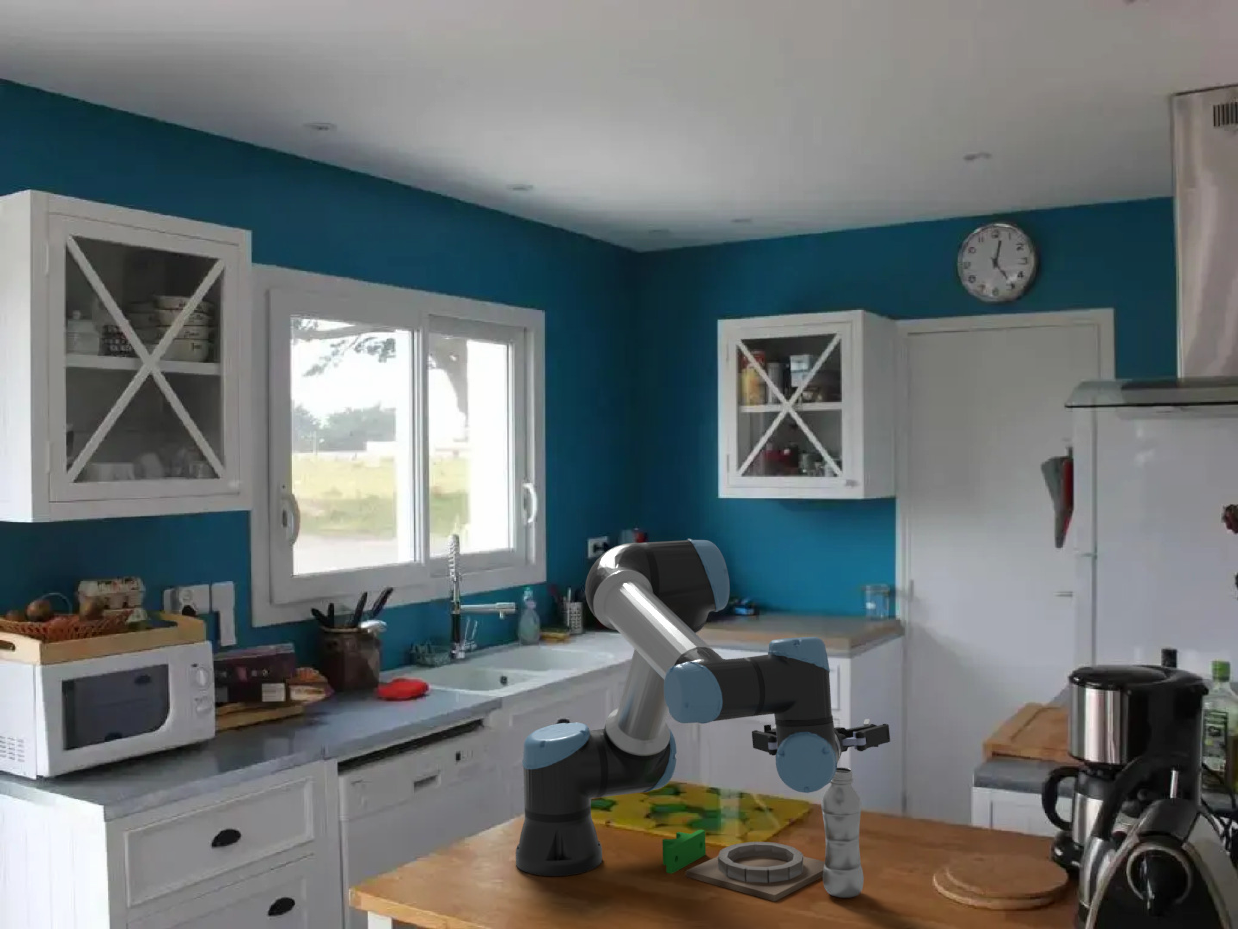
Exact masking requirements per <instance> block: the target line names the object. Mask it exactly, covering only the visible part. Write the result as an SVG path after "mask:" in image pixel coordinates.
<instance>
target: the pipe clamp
mask: <svg viewBox="0 0 1238 929" xmlns="http://www.w3.org/2000/svg"><path fill="white" fill-rule="evenodd" d="M661 843H662V865H663V866H666V868H665V870H666V873H667V874H671V875H672V874H674V873H676V872H678V871H680V870H681V869H683V868H686V867H687V866H689V865H690V864H691V863H694V862H696V861H697V860H699V859H700V858H703V857H704V856H706V855H707V854H706V851H707V849H706V830H704V829H698V830H696V831H694V832H692V833H687V832H682V831H677V832H675V838H663V839H662V842H661Z"/></svg>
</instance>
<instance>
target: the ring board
mask: <svg viewBox="0 0 1238 929" xmlns="http://www.w3.org/2000/svg"><path fill="white" fill-rule="evenodd" d="M824 865H825V860H824V861H823V860H820V859H815V858H812V857H808V856H804V853H802V852H801V851H800V850H798V849H797V848H796V847H793V846H791V845H786V844H781V843H779V842H768V841H748V842H742V843H740V842H739V843H734V844H731V845H729V846H726V847H724V848H722V849H721V850H719V853H718V855H717V856H715V857H714V858H711V859H709V860H706V861H704V862H702V863H700V864H697V865H695V866H692V867H691V868H689V869H686V870H685V877H687V878H689V879H693V880H697V881H700V882H704V883H707V884H711V885H715V886H718V887H721V888H726V889H729V890H733V891H737V892H740V893H743V894H747V895H752V896H754V897H758V898H761V899H764V900H768V901H771V902H777V901H778V900H780V899H783V898H784V897H786V896H788V895H790V894H792V893H794V892H797V890H800V889H801V888H803V887H806V886H807V885H810V884H811V883H813V882H815V881H817V880H819V879H821V878H823V870H824Z"/></svg>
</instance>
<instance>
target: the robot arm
mask: <svg viewBox="0 0 1238 929" xmlns="http://www.w3.org/2000/svg"><path fill="white" fill-rule="evenodd" d="M593 563H594V564H592V566H591V568H590V570H589V572H588V574H587V577H586V581H585V586H584V587H585V590H584V591H585V592H584V594H585V597H586V598H585V599H586V602H587V606H588V607H589V610H590V612H591V613H592V614H593V616H594V617H595V618H596V619H597V620H598V621H599V622H600V623H601V624H602V625H603V626H604V627H606V628H607V629H610V630H615V631H618V633H619V634H620V635H621V636H622V637H623V638H624V639H625V640H626V642H628V643H629V645H630V646H632V648H633V653H632V658H631V661H630V665H629V669H628V671H627V676H626V680H625V684H624V687H623V691H622V694H621V698H620V702H619V705H618V708H616V709H614V710H613V711H611V712H610V714H608V717H607V718H606V721H605V725H604V728H603V729H602V728H601V729H593V730H590V729H589V726H588V725H587V724H585V723H582V722H569V723H567V722H562V723H555V724H551V725H547V726H544V727H540V728H538V729H536V730H534V731H532V732H531V733H530V734H528V735H527V737H526V738H525V740H524V742H523V752H522V753H523V755H522V767H523V789H524V790H523V793H524V794H523V799H524V801H523V802H524V821H523V824H522V827H521V832H520V836H519V843H518V844H517V846H516V848H515V866H516V867H517V868H518V869H519V870H521V871H522V872H525V873H529V874H532V875H536V876H545V877H546V876H547V877H562V876H563V877H564V876H565V877H566V876H571V875H572V876H573V875H578V874H582V873H586V872H589V871H591V870H594V869H595V868H597V867H599V865H601V863H602V861H603V847H602V843H601V842H600V841H599V839H598V838H599V837H598V835H597V834H598V833H597V831H596V826H595V824H594V820H593V818H592V809H591V808H592V803H591V802H592V799H596V798H605V797H611V796H622V795H623V796H624V795H629V794H638V793H648V792H651V791H654V790H657V789H661V788H663V787H665V786H666V785H668V783H670V781H671V779H672V778H673V776H674V773H675V770H676V767H677V757H676V755H677V753H678V751H677V742H676V740H675V739H676V738H675V736H674V734H673V731H672V730H671V728H670V727H669V725H668V722H667V720H668V716H669V715H670V716H671V717H672V718H673V720H674V721H676V722H677V723H681V724H696V723H697V724H702V725H703V724H704V725H705V724H709V723H712V722H718V721H727V720H734V719H735V720H736V719H741V718H742V719H743V718H747V717H748V718H749V717H759V716H766V715H767V716H768V715H774V724H775V725H773V727H772V724H764V725H763V731H761V730H758V729H755V730H752V731H751V738H752V748H753V749H755V750H759V751H762V752H765V753H768V755H769V756H770V755H771V756H775V768H776V771H777V774H778V776H779V778H780V779H781V781H782V783H784V784H785V785H786V786H787V788H790V789H791V790H793V791H796V792H799V793H805V794H810V793H814V792H817V791H819V790H821V789H823V788H824V787H826V786H827V785H828V784H831V783H830V782H831V780H832V778H833V777H834V775H835V772H836V769H837V767H838V763H839V761H840V759H841V756H842V753H843V752H847V751H848V749H849V748H854V750H856V751H858V752H864V751H866V750H867V749H870V748H878V747H879V746H880V745H884V744H888V743H890V742H891V736H890V734H891V732H890V724H887V723H882V724H880V725H877V724H874V723H871V719H870V718H865V719H864V721H863V725H861V726H857V727H851V728H846V727H841V726H836V727H835V723H834V716H833V712H832V698H831V697H832V696H831V682H830V681H831V680H830V679H831V678H830V671H831V669H830V665H829V664H830V663H829V658H828V654H827V653H828V652H827V649H826V644H825V641H823V639H821V638H820V637H817V636H800V637H799V636H798V637H785V638H779V639H777V638H776V639H772V640H771V641H770V642H769V644H768V651H767V654H763V655H761V654H760V655H754V656H748V657H738V658H728V659H727V658H726V659H725V658H723V657H722V656H721V655H720V654H719V653H717V652H716V651H715V650H714V649H712V647H710V645H708V644H707V643H706V642H705V641H704V640H703V639H702V638H701V637H700V636H699V635H698V633H699V632H700V631H702V629H704V627H705V624H706V622H707V618H708V615H709V613H710V612H715V613H716V612H717V613H718V612H719V611H721V610H724V609H725V608H726V607H727V605H728V602H729V599H730V578H729V571H728V568H727V567H728V566H727V564H726V561H725V558H724V556H723V554H722V552H721V550H720V549H719V548H718V546H717V545H716V544H715V543H714V542H712V541H710V540H706V539H692V538H687V539H686V540H672V541H671V540H670V541H667V540H666V541H653V542H652V541H651V542H633V543H632V542H629V543H623V544H620V545H616V546H614V547H612V548H610V549H608V550H607V551H605V552H604V553H603V554H602V555H600V557H599V558H597V559H596V561H594V562H593Z"/></svg>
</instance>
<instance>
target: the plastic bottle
mask: <svg viewBox="0 0 1238 929" xmlns="http://www.w3.org/2000/svg"><path fill="white" fill-rule="evenodd" d="M853 782H854V778H853V769H851V768H848V767H843V766H841V767H838V766H837V769H836V772H835V775H834V777H833V778H832V780H831V782H830V783H829V784H830V785H829V787H828V788H827V789H826V790H825V791H824V794H823V796H822V799H821V802H820V804H821V806H820V808H821V812H822V819H823V825H824V836H825V850H824V851H825V854H824V856H825V857H824V861H825V865H824V870H823V877H822V882H823V883H822V884H823V888H824V889H825V891H826V892H827V894H829V895H831V896H833V897H835V898H844V899H845V898H853V897H854V898H855V897H856V896H858V895H860V893H861V892H862V891H863V888H864V887H863V886H864V881H865V880H864V879H865V878H864V873H863V872H864V871H863V866H862V865H861V864H862V863H861V862H862V861H861V855H860V824H861V822H860V821H861V817H862V816H861V815H862V814H861V813H862V801H861V797H860V796H859V794H858V793H857V791H856V790H855V789H854V787H853V786H852V783H853Z"/></svg>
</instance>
